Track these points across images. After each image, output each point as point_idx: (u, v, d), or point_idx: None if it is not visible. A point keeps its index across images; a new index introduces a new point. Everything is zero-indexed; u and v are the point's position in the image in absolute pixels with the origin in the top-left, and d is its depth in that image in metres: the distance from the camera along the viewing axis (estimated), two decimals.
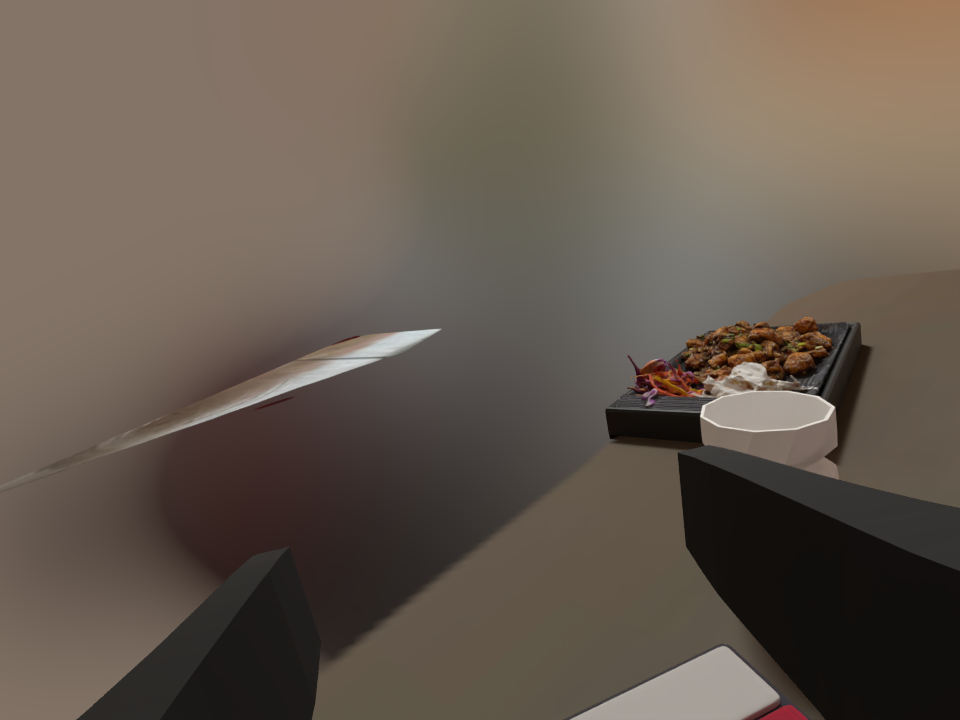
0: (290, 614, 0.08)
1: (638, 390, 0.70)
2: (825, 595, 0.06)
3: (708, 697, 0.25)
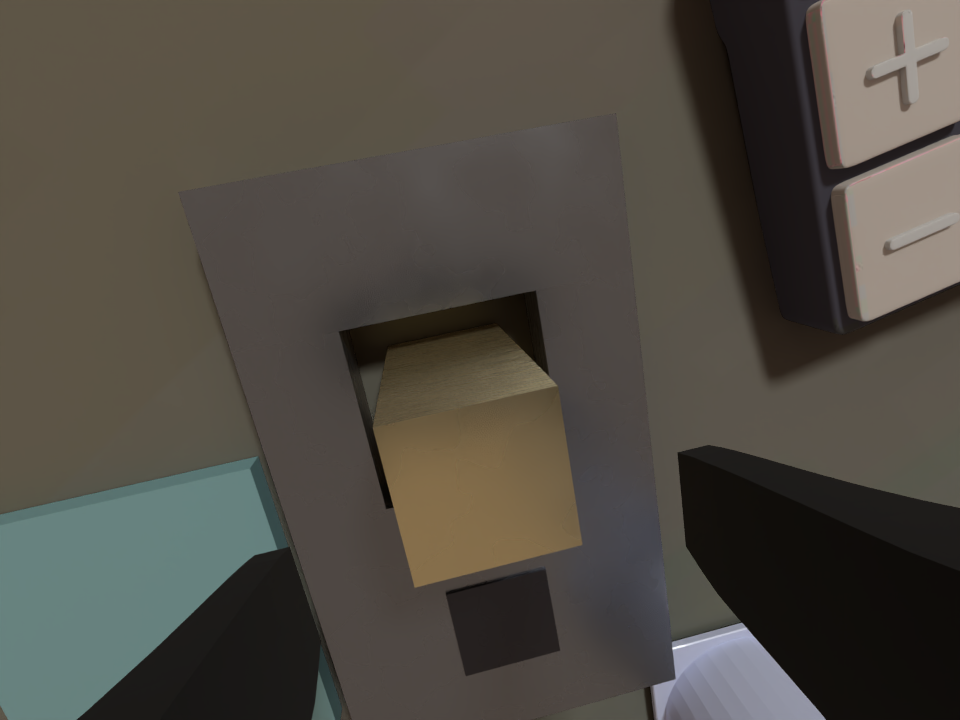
0: (290, 614, 0.08)
1: None
2: (825, 596, 0.06)
3: None
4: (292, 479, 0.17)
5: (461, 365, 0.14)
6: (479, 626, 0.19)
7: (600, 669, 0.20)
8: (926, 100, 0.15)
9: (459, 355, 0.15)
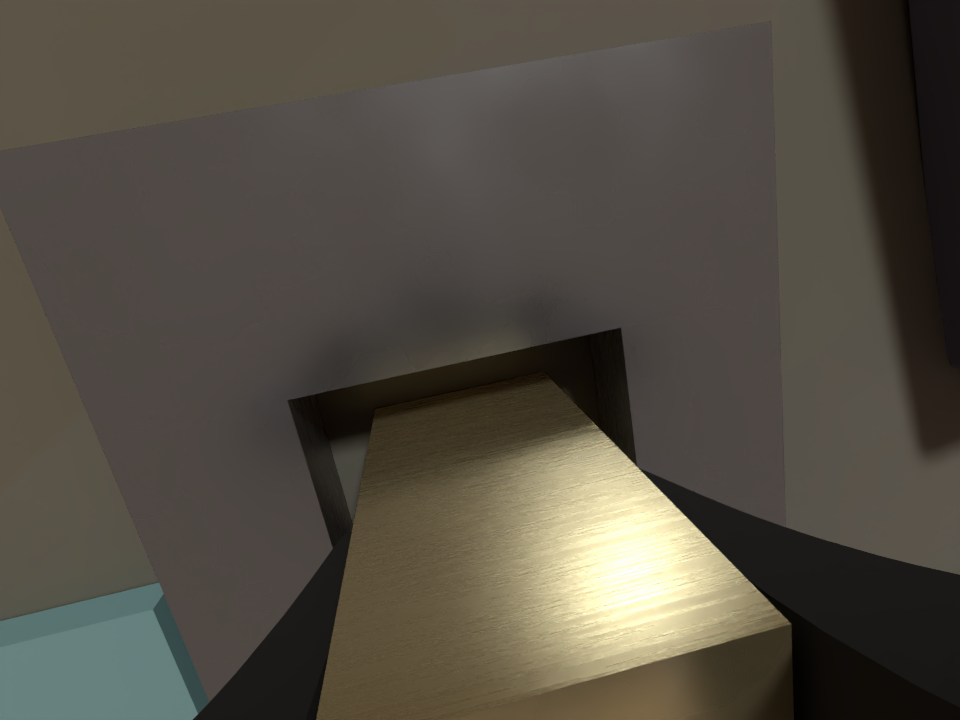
0: None
1: None
2: None
3: None
4: (216, 638, 0.10)
5: (509, 486, 0.07)
6: None
7: None
8: None
9: (498, 451, 0.08)
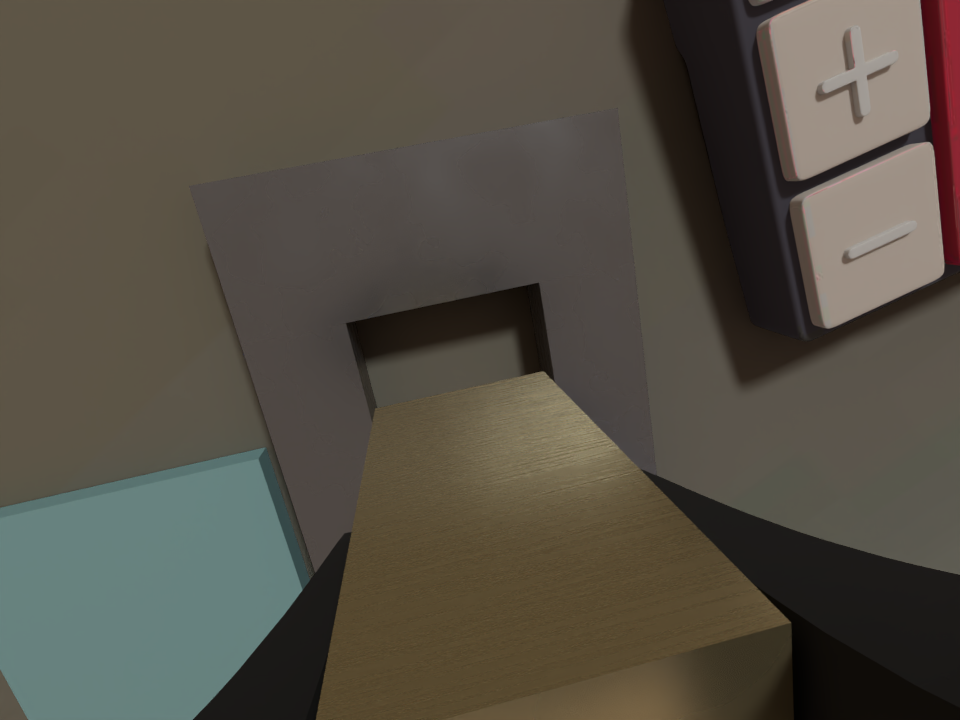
0: None
1: None
2: None
3: None
4: (300, 469, 0.17)
5: (509, 485, 0.07)
6: None
7: None
8: (877, 112, 0.15)
9: (498, 450, 0.08)
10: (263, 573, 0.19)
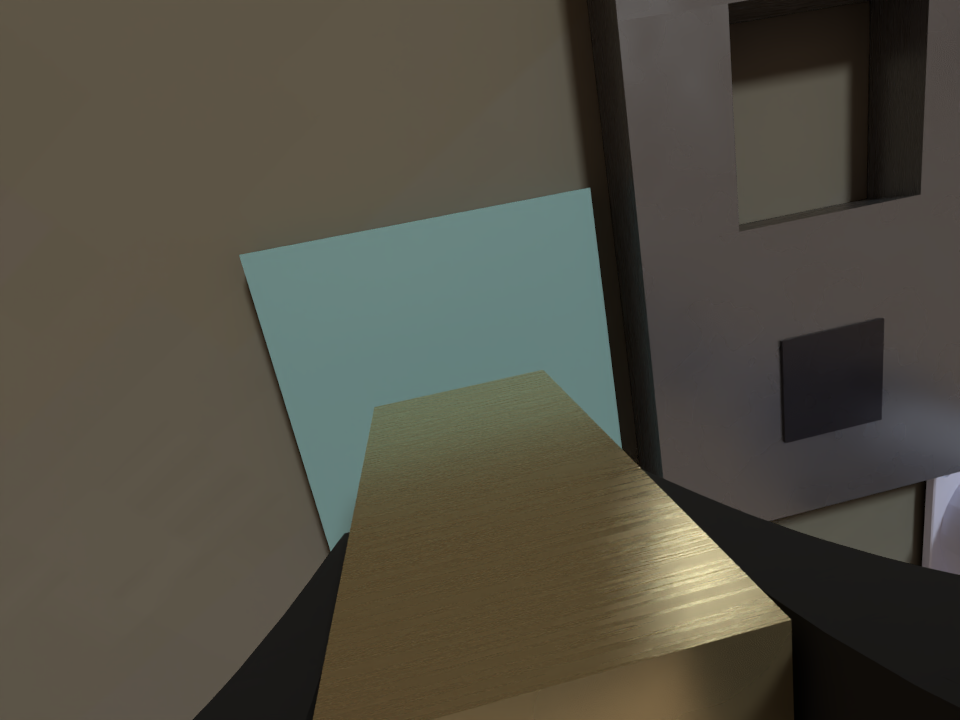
0: None
1: None
2: None
3: None
4: (653, 185, 0.15)
5: (508, 482, 0.07)
6: (806, 384, 0.18)
7: (914, 447, 0.19)
8: None
9: (497, 448, 0.08)
10: (574, 331, 0.17)
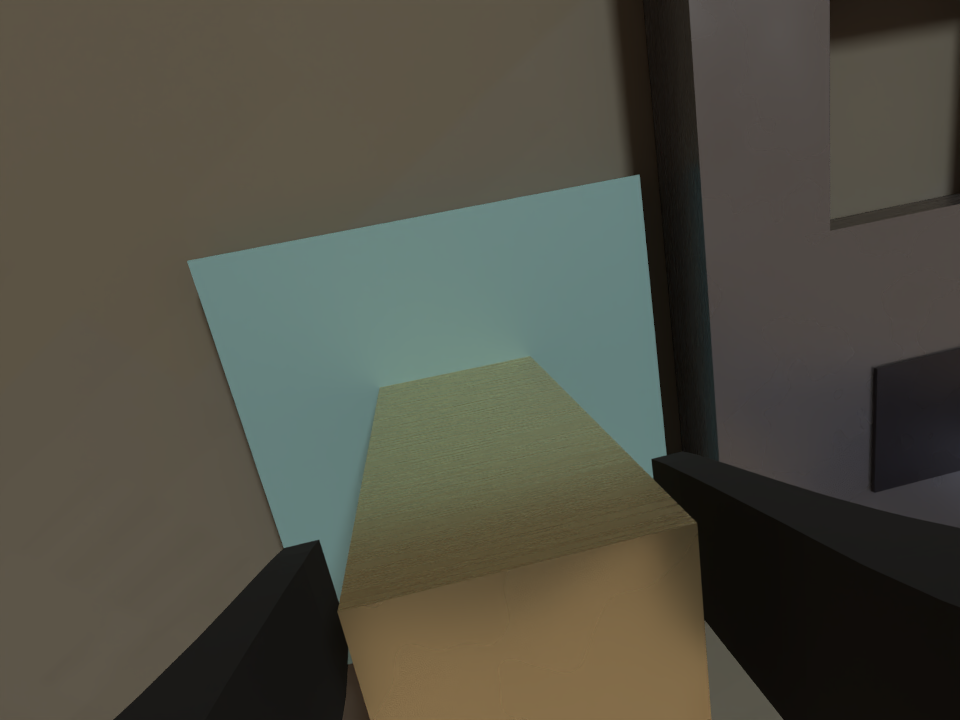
0: (322, 606, 0.08)
1: None
2: (788, 606, 0.06)
3: None
4: (724, 171, 0.12)
5: (494, 441, 0.09)
6: (903, 421, 0.14)
7: None
8: None
9: (487, 417, 0.10)
10: (615, 355, 0.14)
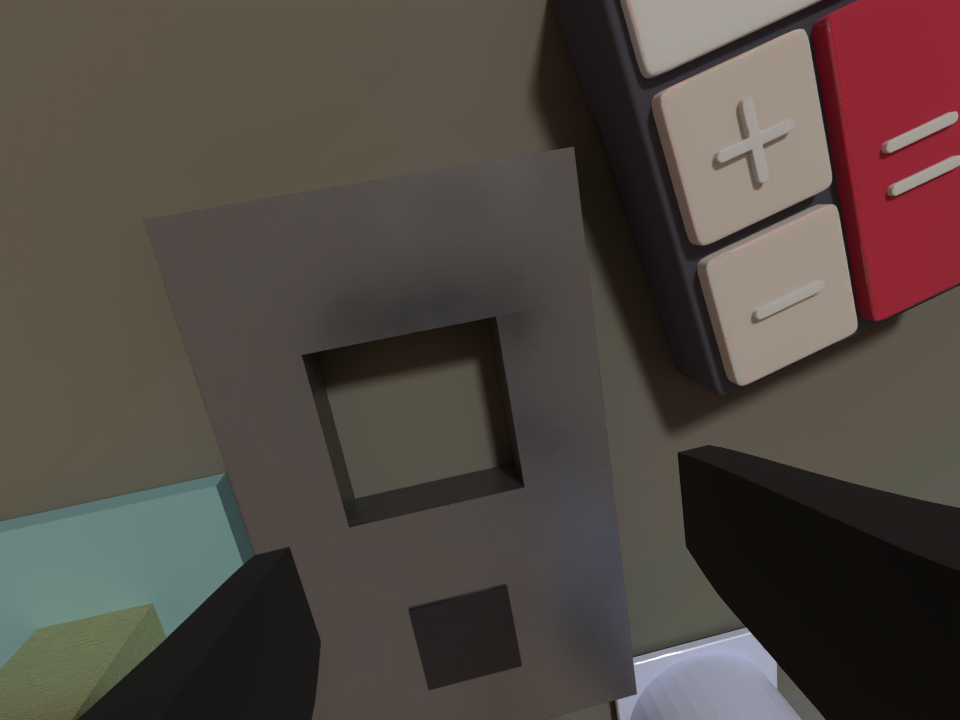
0: (290, 614, 0.08)
1: None
2: (825, 596, 0.06)
3: None
4: (256, 498, 0.17)
5: None
6: (442, 641, 0.20)
7: (562, 684, 0.21)
8: (778, 178, 0.15)
9: (33, 701, 0.15)
10: None
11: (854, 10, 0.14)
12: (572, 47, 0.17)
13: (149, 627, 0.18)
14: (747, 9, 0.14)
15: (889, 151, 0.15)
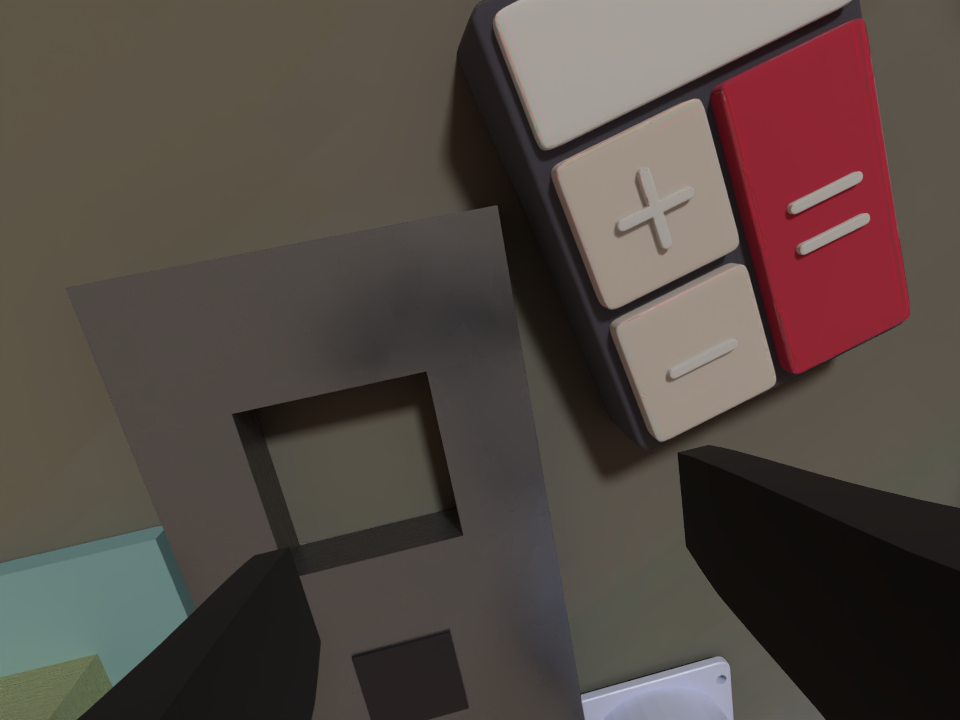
0: (290, 614, 0.08)
1: None
2: (825, 596, 0.06)
3: None
4: (192, 553, 0.17)
5: None
6: (387, 686, 0.20)
7: None
8: (683, 242, 0.15)
9: None
10: None
11: (748, 79, 0.14)
12: (482, 111, 0.17)
13: (92, 679, 0.18)
14: (640, 82, 0.14)
15: (794, 212, 0.16)
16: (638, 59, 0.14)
